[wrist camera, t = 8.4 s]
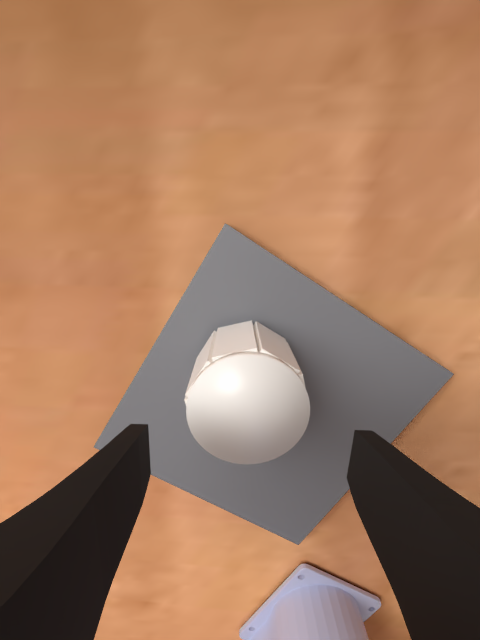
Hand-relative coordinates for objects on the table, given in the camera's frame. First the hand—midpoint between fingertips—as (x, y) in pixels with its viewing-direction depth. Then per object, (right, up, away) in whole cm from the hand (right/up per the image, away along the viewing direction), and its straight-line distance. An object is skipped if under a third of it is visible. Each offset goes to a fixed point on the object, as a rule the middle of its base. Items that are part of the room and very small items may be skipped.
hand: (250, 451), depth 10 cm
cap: (0, +2, +6) cm, 7 cm away
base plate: (+1, -1, +9) cm, 9 cm away
